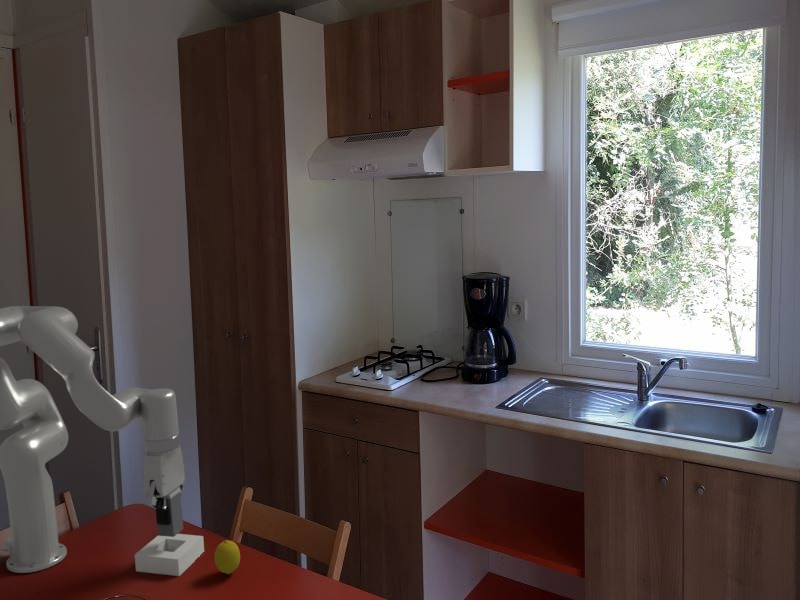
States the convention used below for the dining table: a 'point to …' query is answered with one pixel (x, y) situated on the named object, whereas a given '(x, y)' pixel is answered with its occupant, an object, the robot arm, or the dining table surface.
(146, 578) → the dining table surface
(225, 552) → the lemon
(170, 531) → the plug
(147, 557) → the socket
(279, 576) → the dining table surface
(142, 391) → the robot arm
